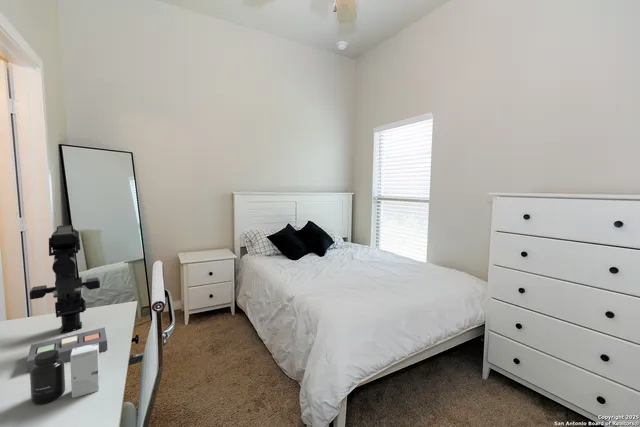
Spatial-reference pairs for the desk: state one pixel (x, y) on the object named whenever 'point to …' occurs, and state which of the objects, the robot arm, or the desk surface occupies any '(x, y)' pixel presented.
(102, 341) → the keyguard
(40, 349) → the sage key
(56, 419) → the desk surface
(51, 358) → the supplement bottle
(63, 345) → the cream key
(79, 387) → the skincare box
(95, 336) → the terracotta key
